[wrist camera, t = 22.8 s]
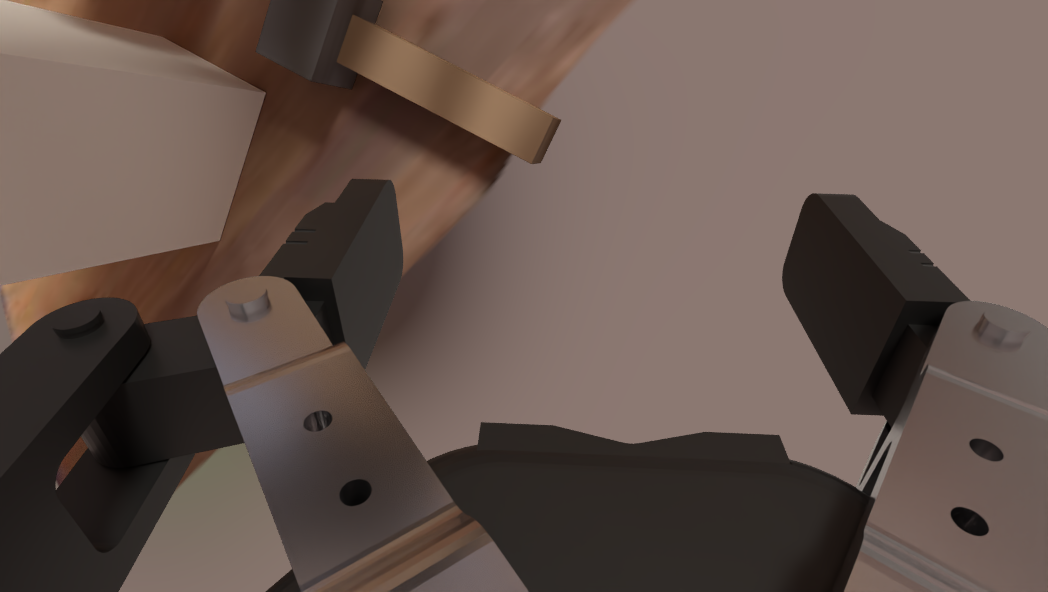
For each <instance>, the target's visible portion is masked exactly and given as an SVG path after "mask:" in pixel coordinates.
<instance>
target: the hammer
mask: <svg viewBox="0 0 1048 592" xmlns="http://www.w3.org/2000/svg"><path fill="white" fill-rule="evenodd" d="M382 3H383V1H381V0H271V1H270V4H269V8H268V11H267V15H266V18H265V21H264V25H263V28H262V32H261V35H260V38H259V42H258V45H257V48H256V52H257V53H258V54H260V55H262V56H264V57H266V58H268V59H270V60H272V61H274V62H275V63H277V64H279V65H281V66H283V67H285V68H287V69H289V70H291V71H292V72H294V73H296V74H298V75H300V76H302V77H304V78H306V79H308V80H309V81H312V82H317V83H322V84H327V85H332V86H337V87H342V88H347V89H352V87H353V85H354V82H355V79H356V76H357V73H359V74H360V75H362V76H364V77H366V78H368V79H370V80H372V81H374V82H376V83H378V84H380V85H381V86H383V87H385V88H387V89H389V90H391V91H393V92H395V93H397V94H399V95H401V96H402V97H404V98H406V99H408V100H410V101H412V102H414V103H416V104H418V105H420V106H422V107H423V108H425V109H427V110H429V111H431V112H433V113H435V114H437V115H439V116H441V117H443V118H444V119H446V120H448V121H450V122H452V123H454V124H456V125H458V126H460V127H462V128H464V129H465V130H467V131H469V132H471V133H473V134H475V135H477V136H479V137H481V138H483V139H485V140H486V141H488V142H490V143H492V144H494V145H496V146H498V147H500V148H502V149H504V150H506V151H507V152H509V153H511V154H513V155H515V156H517V157H519V158H521V159H523V160H525V161H527V162H529V163H530V164H536V163H541V161H542V159H543V157H544V155H545V153H546V151H547V149H548V147H549V145H550V142H551V141H552V138H553V136H554V134H555V132H556V130H557V128H558V126H559V124H560V122H561V120H560V119H558V118H556V117H554V116H552V115H550V114H549V113H546V112H545V111H543V110H541V109H539V108H537V107H535V106H533V105H531V104H529V103H527V102H525V101H523V100H521V99H519V98H517V97H515V96H514V95H512V94H510V93H508V92H506V91H504V90H502V89H500V88H498V87H496V86H494V85H492V84H490V83H488V82H486V81H484V80H482V79H480V78H479V77H477V76H475V75H473V74H471V73H469V72H467V71H465V70H463V69H461V68H459V67H457V66H455V65H453V64H451V63H449V62H447V61H445V60H444V59H442V58H440V57H438V56H436V55H434V54H432V53H430V52H428V51H426V50H424V49H422V48H420V47H418V46H416V45H414V44H412V43H410V42H409V41H407V40H405V39H403V38H401V37H399V36H397V35H395V34H393V33H391V32H389V31H387V30H385V29H383V28H381V27H379V26H377V25H375V23H376V20H377V17H378V14H379V12H380V9H381V6H382Z"/></svg>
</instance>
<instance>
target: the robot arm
mask: <svg viewBox="0 0 1048 592" xmlns="http://www.w3.org/2000/svg"><path fill="white" fill-rule="evenodd" d="M920 251H921V250H920V249H919V248H918V247H917V246H916V245H915V244H914V243H913V242H912V241H911V240H910V239H909V238H908V237H907V236H906V235H905V234H903V233H901V232H899V231H898V230H896V229H894V228H892V227H891V226H889V225H887V224H885V223H883V222H882V221H880V220H879V219H878V218H877V217H876V216H875V215H874V214H873V213H872V212H871V211H870V210H869V209H868V208H867V206H866V205H865V204H864V203H863V202H862V201H861V200H860V199H859V198H858V197H856V196H855V195H847V194H846V195H845V194H811V195H809V196H808V198H807V199H806V200H805V202H804V204H803V206H802V209H801V212H800V216H799V219H798V222H797V225H796V228H795V231H794V234H793V237H792V241H791V244H790V247H789V250H788V253H787V257H786V259H785V263H784V267H783V276H782V281H783V289H784V292H785V295H786V297H787V299H788V301H789V302H790V304H791V306H792V308H793V310H794V311H795V313H796V315H797V317H798V319H799V320H800V322H801V324H802V326H803V328H804V330H805V331H806V333H807V335H808V337H809V339H810V340H811V342H812V344H813V346H814V348H815V349H816V351H817V353H818V355H819V357H820V358H821V360H822V362H823V364H824V366H825V368H826V369H827V371H828V373H829V375H830V376H831V378H832V380H833V382H834V384H835V386H836V387H837V389H838V391H839V393H840V395H841V397H842V398H843V400H844V402H845V404H846V406H847V407H848V409H849V411H850V413H851V414H858V415H859V414H860V415H882V416H884V417H885V418H886V420H887V421H886V423H885V425H884V426H883V428H882V430H881V432H880V434H879V436H878V438H877V440H876V442H875V445H874V447H873V450H872V451H871V454H870V456H869V459H868V461H867V463H866V465H865V467H864V470H863V472H862V474H861V477H860V479H859V481H858V484H857V486H856V487H854V486H852V485H851V484H849V483H847V482H845V481H843V480H841V479H839V478H837V477H835V476H833V475H831V474H829V473H826V472H824V471H822V470H819V469H817V468H815V467H812V466H808V465H806V464H803V463H800V462H797V461H793V460H789V458H788V456H787V454H786V451H785V448H784V446H783V443H782V441H781V438H780V436H779V435H763V434H739V433H715V432H702V433H696V434H691V435H685V436H679V437H673V438H668V439H661V440H656V441H650V442H645V443H637V444H628V443H622V442H618V441H614V440H610V439H605V438H602V437H598V436H593V435H589V434H585V433H582V432H578V431H574V430H569V429H565V428H561V427H557V426H553V425H529V424H506V423H482V422H481V427H480V433H479V440H478V445H474V446H469V447H464V448H461V449H457V450H454V451H450V452H447V453H445V454H442V455H440V456H437V457H435V458H432V459H430V460H428V461H426V460H425V458H424V457H423V455H422V454H421V452H420V451H419V450H418V448H417V446H416V445H415V444H414V442H413V441H412V439H411V438H410V436H409V435H408V433H407V432H406V430H405V429H404V427H403V426H402V424H401V423H400V421H399V420H398V418H397V417H396V415H395V414H394V412H393V411H392V409H391V408H390V406H389V405H388V404H387V402H386V401H385V399H384V398H383V396H382V395H381V393H380V392H379V390H378V389H377V387H376V386H375V384H374V383H373V381H372V380H371V378H370V377H369V376H368V374H367V373H366V371H365V368H366V366H367V363H368V361H369V358H370V356H371V353H372V350H373V348H374V346H375V343H376V341H377V338H378V335H379V333H380V330H381V328H382V325H383V323H384V320H385V318H386V315H387V313H388V310H389V307H390V305H391V303H392V300H393V298H394V295H395V292H396V290H397V287H398V285H399V282H400V280H401V276H402V269H403V248H402V240H401V233H400V225H399V217H398V209H397V201H396V194H395V189H394V185H393V183H392V181H391V180H371V179H352V180H351V181H350V182H349V183H348V185H347V186H346V188H345V189H344V191H343V192H342V193H341V195H340V196H339V198H338V199H337V201H336V202H335V203H324V204H322V205H321V206H319V207H317V208H316V209H314V210H312V211H311V212H309V213H307V214H306V215H305V216H304V217H303V219H302V220H301V221H300V223H299V224H298V225H297V227H296V228H295V232H292V233H291V234H290V236H289V237H288V238H287V240H286V244H283V245H282V246H281V248H280V249H279V250H278V252H277V253H276V254H275V256H274V257H273V258H272V260H271V261H270V262H269V264H268V265H267V266H266V267H265V269H264V270H263V271H262V273H261V274H260V275H259V276H256V277H249V278H244V279H240V280H236V281H233V282H230V283H228V284H225V285H223V286H221V287H219V288H217V289H216V290H214V291H213V292H211V293H210V294H209V295H207V296H206V297H205V298H204V299H203V301H202V302H201V303H200V305H199V307H198V310H197V316H192V317H186V318H180V319H173V320H167V321H161V322H154V323H148V324H144V323H143V321H142V319H141V317H140V315H139V313H138V311H137V309H136V307H135V306H134V304H132V303H131V302H129V301H127V300H124V299H120V298H96V299H90V300H85V301H80V302H77V303H73V304H70V305H68V306H65V307H62V308H60V309H58V310H55V311H53V312H51V313H49V314H48V315H46V316H44V317H42V318H41V319H39V320H38V321H36V322H35V323H34V324H33V325H32V326H30V327H29V328H28V329H27V330H26V331H25V332H24V333H23V334H22V335H21V336H19V337H18V338H17V339H16V340H15V341H14V342H13V343H12V344H11V345H10V346H9V347H8V348H6V349H5V350H4V351H3V352H2V353H1V354H0V592H118V591H119V590H120V588H121V586H122V584H123V582H124V581H125V579H126V577H127V575H128V574H129V572H130V570H131V568H132V566H133V565H134V563H135V561H136V559H137V557H138V556H139V554H140V552H141V550H142V548H143V547H144V545H145V543H146V541H147V539H148V537H149V536H150V534H151V532H152V530H153V529H154V527H155V525H156V523H157V521H158V520H159V518H160V516H161V514H162V512H163V511H164V509H165V507H166V505H167V504H168V502H169V500H170V498H171V496H172V495H173V493H174V491H175V489H176V487H177V486H178V484H179V482H180V480H181V478H182V477H183V475H184V473H185V471H186V469H187V468H188V466H189V464H190V462H191V460H192V459H193V457H194V455H195V453H199V452H204V451H209V450H213V449H218V448H223V447H227V446H232V445H237V444H241V443H245V445H246V447H247V450H248V453H249V456H250V458H251V461H252V464H253V466H254V469H255V471H256V474H257V477H258V479H259V482H260V485H261V487H262V490H263V493H264V495H265V498H266V500H267V503H268V506H269V508H270V511H271V514H272V516H273V519H274V522H275V524H276V527H277V530H278V532H279V535H280V537H281V540H282V543H283V545H284V548H285V551H286V553H287V556H288V559H289V561H290V563H291V566H292V570H290V571H289V572H288V573H287V574H286V575H285V576H283V577H282V578H281V579H280V580H279V581H278V582H276V583H275V584H274V585H273V586H272V587H271V588H269V589H268V590H267V591H266V592H1048V328H1047V327H1046V326H1044V325H1043V324H1041V323H1040V322H1038V321H1036V320H1035V319H1033V318H1031V317H1029V316H1027V315H1025V314H1023V313H1021V312H1018V311H1016V310H1013V309H1010V308H1007V307H1004V306H1000V305H996V304H992V303H987V302H980V301H970V300H969V299H968V298H967V297H966V296H965V295H964V294H963V293H962V292H961V291H960V290H959V289H958V288H957V287H956V286H955V285H954V284H953V283H952V282H951V281H950V280H949V279H948V277H947V276H946V275H945V274H944V273H942V271H941V270H940V269H939V268H938V267H933V262H932V261H931V260H930V259H929V258H928V257H927V256H926V255H925V254H924V253H920ZM80 436H81V437H82V439H83V440H84V442H85V444H86V445H87V447H88V449H87V450H86V451H85V453H84V454H83V455H82V457H81V458H80V459H79V460H78V462H77V463H76V464H75V466H74V467H73V468H72V470H71V471H70V472H69V474H68V475H67V476H66V478H65V479H64V480H63V482H62V483H61V484H60V486H59V487H58V488H57V490H56V488H55V481H56V475H57V471H58V468H59V466H60V464H61V462H62V460H63V459H64V457H65V456H66V454H67V453H68V452H69V451H70V449H71V448H72V447H73V445H74V444H75V443H76V442H77V440H78V439H79V438H80Z"/></svg>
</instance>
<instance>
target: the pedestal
mask: <svg viewBox="0 0 1048 592" xmlns="http://www.w3.org/2000/svg"><path fill="white" fill-rule="evenodd" d="M265 94H266V93H265V92H264V91H262V90H260V89H258V88H256V87H254V86H252V85H251V84H249V83H247V82H245V81H243V80H241V79H239V78H238V77H236V76H234V75H232V74H230V73H228V72H227V71H225V70H223V69H221V68H219V67H217V66H215V65H214V64H212V63H210V62H208V61H206V60H204V59H202V58H201V57H199V56H197V55H195V54H193V53H191V52H190V51H188V50H186V49H184V48H182V47H180V46H178V45H177V44H175V43H173V42H171V41H169V40H167V39H165V38H164V37H162V36H158V35H153V34H149V33H145V32H140V31H136V30H132V29H127V28H123V27H119V26H114V25H110V24H106V23H101V22H97V21H93V20H88V19H84V18H80V17H75V16H71V15H67V14H62V13H58V12H54V11H49V10H45V9H41V8H36V7H32V6H28V5H23V4H19V3H15V2H10V1H6V0H0V286H1V285H6V284H11V283H16V282H21V281H25V280H30V279H35V278H40V277H45V276H50V275H55V274H60V273H64V272H69V271H74V270H79V269H84V268H89V267H94V266H99V265H104V264H108V263H113V262H118V261H123V260H128V259H133V258H138V257H143V256H148V255H152V254H157V253H162V252H167V251H172V250H177V249H182V248H187V247H192V246H196V245H201V244H206V243H211V242H216V241H220V238H221V235H222V232H223V229H224V226H225V222H226V219H227V216H228V213H229V210H230V206H231V203H232V200H233V197H234V193H235V190H236V187H237V184H238V181H239V177H240V174H241V171H242V168H243V165H244V161H245V158H246V155H247V152H248V149H249V145H250V142H251V139H252V136H253V133H254V129H255V126H256V123H257V120H258V117H259V113H260V110H261V107H262V104H263V101H264V97H265Z"/></svg>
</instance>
